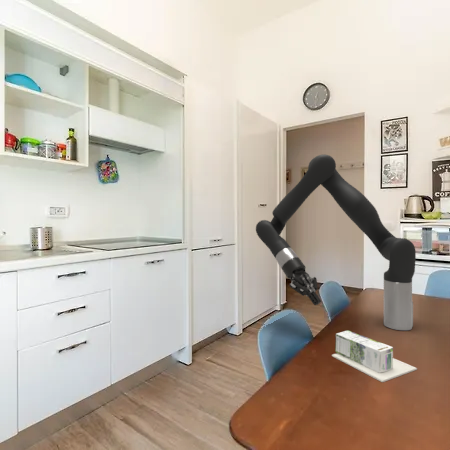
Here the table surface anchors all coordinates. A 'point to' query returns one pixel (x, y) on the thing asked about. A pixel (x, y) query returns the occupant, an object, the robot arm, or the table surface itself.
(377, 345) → the syrup box
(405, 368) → the off-white mat
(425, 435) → the table surface
